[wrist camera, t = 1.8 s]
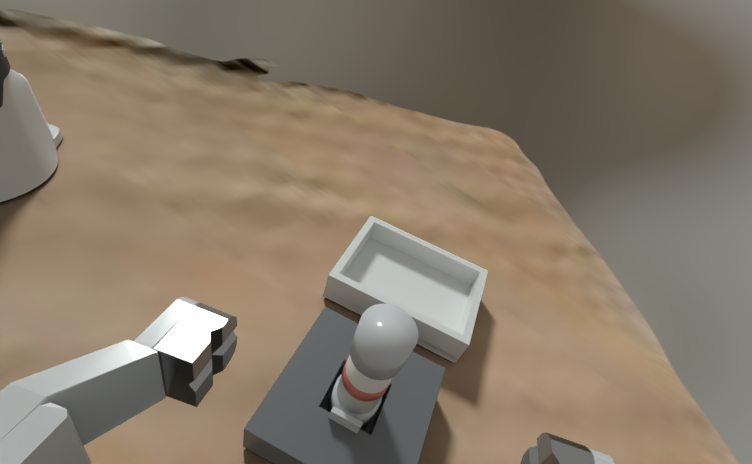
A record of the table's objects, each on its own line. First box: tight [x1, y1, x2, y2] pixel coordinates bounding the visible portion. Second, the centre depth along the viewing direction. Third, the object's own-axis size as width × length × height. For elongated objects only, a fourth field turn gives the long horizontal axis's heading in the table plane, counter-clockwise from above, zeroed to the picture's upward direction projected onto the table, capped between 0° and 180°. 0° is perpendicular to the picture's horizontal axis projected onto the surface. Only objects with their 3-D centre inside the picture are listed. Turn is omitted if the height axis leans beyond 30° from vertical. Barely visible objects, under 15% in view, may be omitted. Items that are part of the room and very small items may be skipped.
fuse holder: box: [243, 307, 446, 464], centre depth 31 cm, size 12×12×5 cm
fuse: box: [328, 304, 418, 430], centre depth 28 cm, size 4×4×12 cm
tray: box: [323, 216, 488, 363], centre depth 43 cm, size 15×11×4 cm
